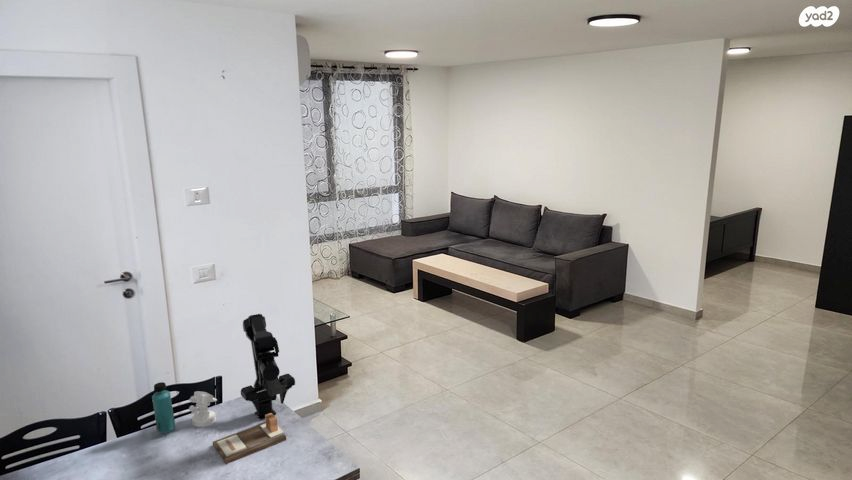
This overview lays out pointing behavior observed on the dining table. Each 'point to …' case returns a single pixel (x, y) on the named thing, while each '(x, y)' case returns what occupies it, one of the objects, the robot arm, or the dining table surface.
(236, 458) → the ticket board
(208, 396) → the character figurine
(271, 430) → the stub
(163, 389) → the beverage bottle
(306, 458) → the dining table surface
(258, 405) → the robot arm
